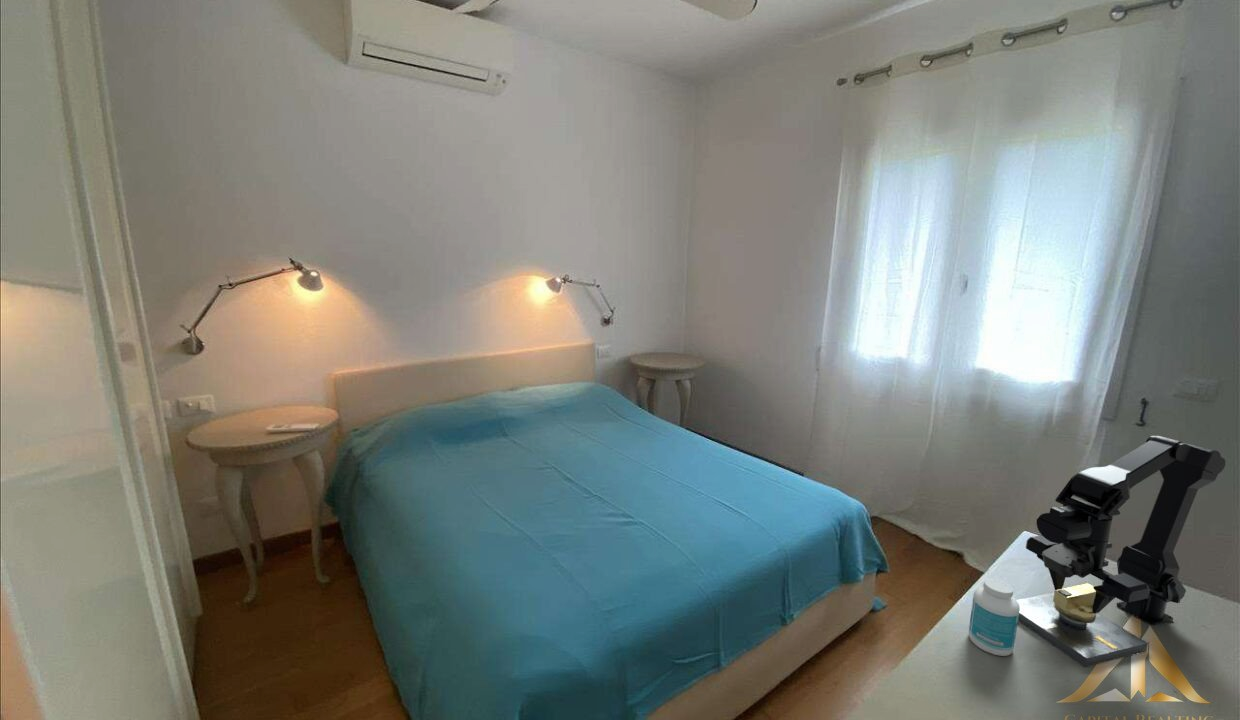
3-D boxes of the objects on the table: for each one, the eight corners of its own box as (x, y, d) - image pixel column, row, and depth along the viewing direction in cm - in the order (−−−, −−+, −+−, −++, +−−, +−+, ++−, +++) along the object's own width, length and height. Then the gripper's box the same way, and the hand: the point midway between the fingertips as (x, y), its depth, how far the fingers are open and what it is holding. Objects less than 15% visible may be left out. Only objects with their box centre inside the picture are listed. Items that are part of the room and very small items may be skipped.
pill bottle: (1021, 660, 94) (1031, 600, 91) (979, 655, 95) (987, 595, 93) (1000, 632, 101) (1008, 575, 99) (960, 627, 103) (968, 572, 100)
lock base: (1058, 598, 111) (1061, 583, 110) (1146, 651, 96) (1150, 634, 95) (1003, 610, 108) (1005, 594, 107) (1084, 667, 92) (1088, 649, 91)
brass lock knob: (1073, 598, 105) (1077, 576, 104) (1108, 619, 99) (1112, 596, 98) (1041, 605, 103) (1044, 583, 102) (1074, 626, 97) (1078, 603, 96)
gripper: (1011, 516, 105) (1001, 579, 108) (1113, 567, 87) (1099, 641, 90) (1050, 510, 107) (1040, 572, 110) (1159, 558, 89) (1143, 631, 92)
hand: (1075, 601), depth 100 cm, fingers open, 7 cm apart
